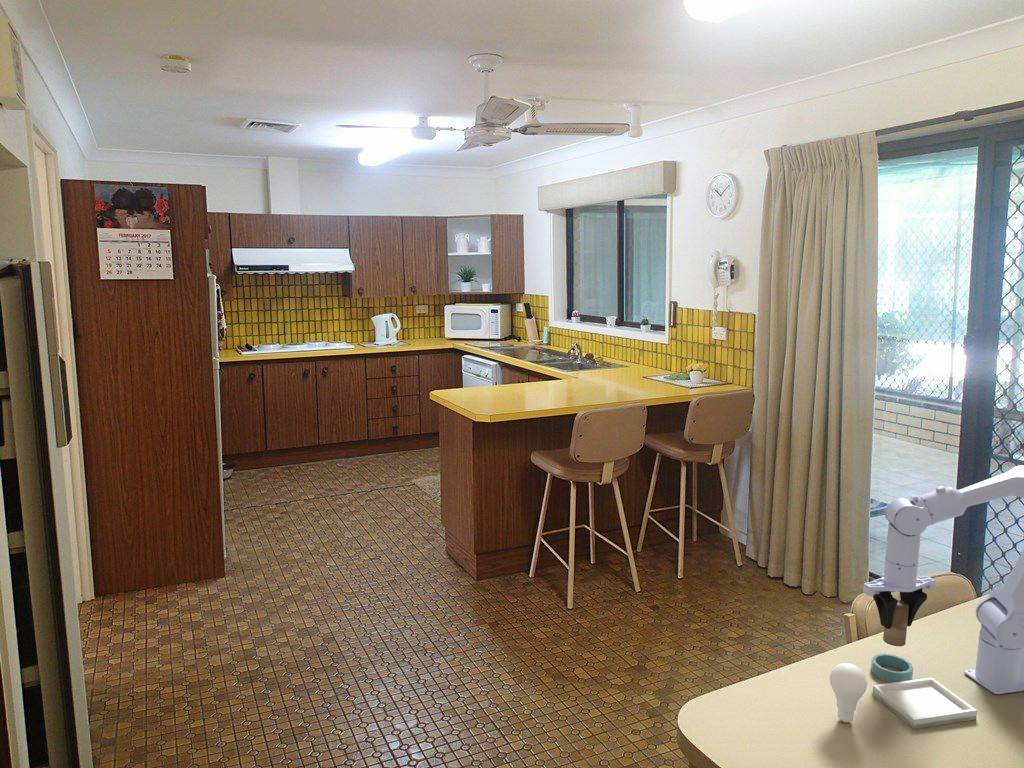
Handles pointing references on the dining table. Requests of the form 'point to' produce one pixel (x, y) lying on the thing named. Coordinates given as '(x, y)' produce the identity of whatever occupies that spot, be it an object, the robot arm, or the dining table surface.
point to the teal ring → (888, 674)
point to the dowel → (898, 625)
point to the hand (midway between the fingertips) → (895, 625)
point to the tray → (924, 703)
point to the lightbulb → (847, 688)
